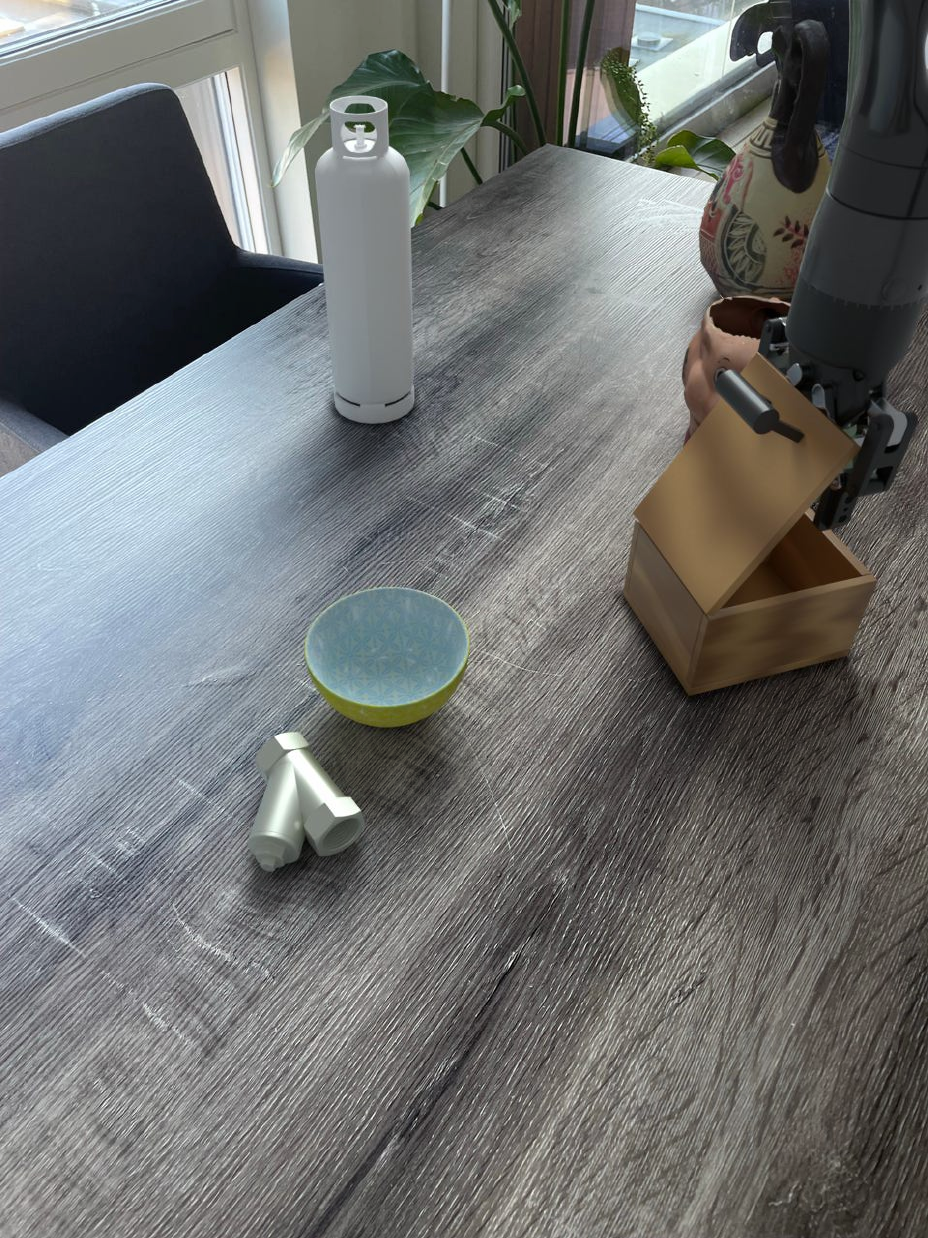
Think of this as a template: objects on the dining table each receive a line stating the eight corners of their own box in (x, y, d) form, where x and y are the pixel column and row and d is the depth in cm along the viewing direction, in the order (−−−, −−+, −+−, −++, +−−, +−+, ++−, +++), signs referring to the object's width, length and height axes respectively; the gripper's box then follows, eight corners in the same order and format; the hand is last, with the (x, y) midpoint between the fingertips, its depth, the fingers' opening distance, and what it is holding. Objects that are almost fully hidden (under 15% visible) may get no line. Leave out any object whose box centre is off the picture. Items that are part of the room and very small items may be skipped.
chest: (768, 561, 84) (791, 486, 79) (847, 656, 77) (878, 580, 71) (622, 594, 81) (635, 518, 76) (688, 696, 73) (708, 620, 68)
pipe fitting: (275, 896, 62) (367, 837, 64) (263, 864, 59) (360, 803, 61) (217, 808, 66) (305, 756, 69) (203, 775, 63) (295, 722, 66)
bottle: (332, 423, 98) (305, 121, 79) (336, 380, 104) (312, 88, 85) (414, 423, 99) (407, 121, 79) (414, 380, 104) (408, 89, 85)
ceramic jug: (680, 269, 124) (728, -9, 103) (805, 273, 124) (878, -5, 103) (697, 337, 112) (756, 36, 91) (836, 341, 112) (926, 41, 91)
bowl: (294, 754, 69) (284, 695, 65) (332, 637, 77) (325, 578, 73) (456, 774, 68) (457, 715, 64) (478, 653, 76) (479, 594, 72)
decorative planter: (685, 384, 105) (710, 255, 95) (804, 404, 102) (842, 274, 92) (652, 493, 91) (677, 355, 81) (788, 520, 88) (831, 381, 79)
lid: (764, 355, 69) (712, 326, 66) (862, 447, 61) (809, 419, 58) (639, 515, 76) (587, 496, 73) (713, 617, 68) (659, 600, 65)
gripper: (999, 318, 55) (903, 546, 67) (850, 216, 65) (789, 431, 77) (884, 337, 54) (806, 568, 65) (749, 230, 63) (701, 447, 75)
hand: (797, 493), depth 71 cm, fingers closed on block, 7 cm apart
